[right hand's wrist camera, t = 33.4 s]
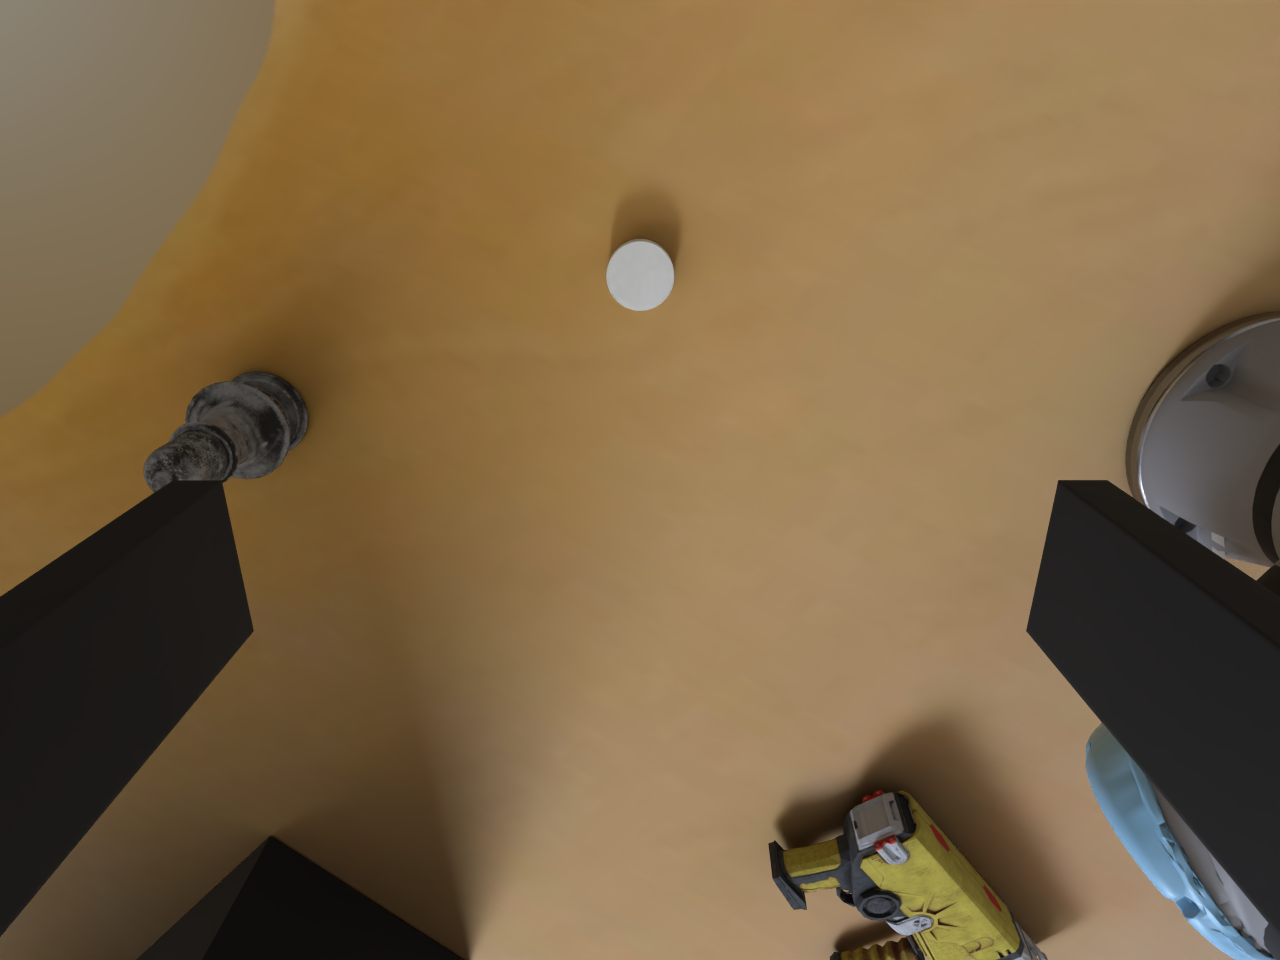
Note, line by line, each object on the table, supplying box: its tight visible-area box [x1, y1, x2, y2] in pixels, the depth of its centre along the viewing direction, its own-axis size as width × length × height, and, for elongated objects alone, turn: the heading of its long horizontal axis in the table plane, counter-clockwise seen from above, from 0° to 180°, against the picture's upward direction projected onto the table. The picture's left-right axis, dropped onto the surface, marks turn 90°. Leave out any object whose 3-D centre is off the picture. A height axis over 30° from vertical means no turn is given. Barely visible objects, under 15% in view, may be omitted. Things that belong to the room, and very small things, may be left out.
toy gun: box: [769, 789, 1048, 960], centre depth 62 cm, size 5×24×15 cm
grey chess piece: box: [144, 372, 308, 492], centre depth 43 cm, size 6×6×12 cm
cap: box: [606, 239, 674, 311], centre depth 45 cm, size 4×4×2 cm
